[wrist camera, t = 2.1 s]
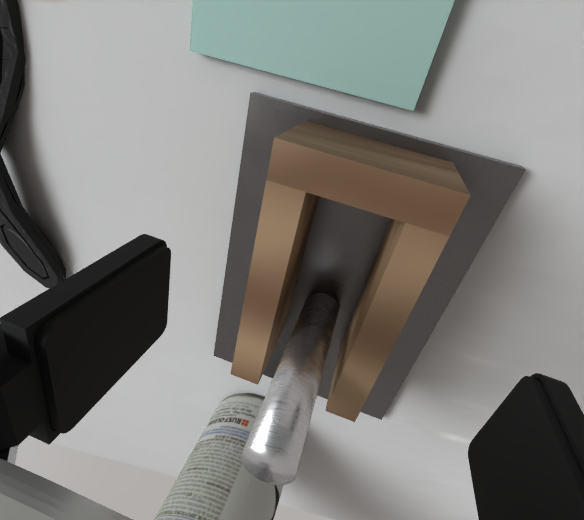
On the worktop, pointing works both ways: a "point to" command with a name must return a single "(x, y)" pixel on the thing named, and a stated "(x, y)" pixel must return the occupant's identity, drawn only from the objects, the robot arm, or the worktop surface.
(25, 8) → the worktop surface
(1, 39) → the hairbrush
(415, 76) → the mat
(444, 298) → the stand
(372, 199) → the arch block
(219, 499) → the spray can
